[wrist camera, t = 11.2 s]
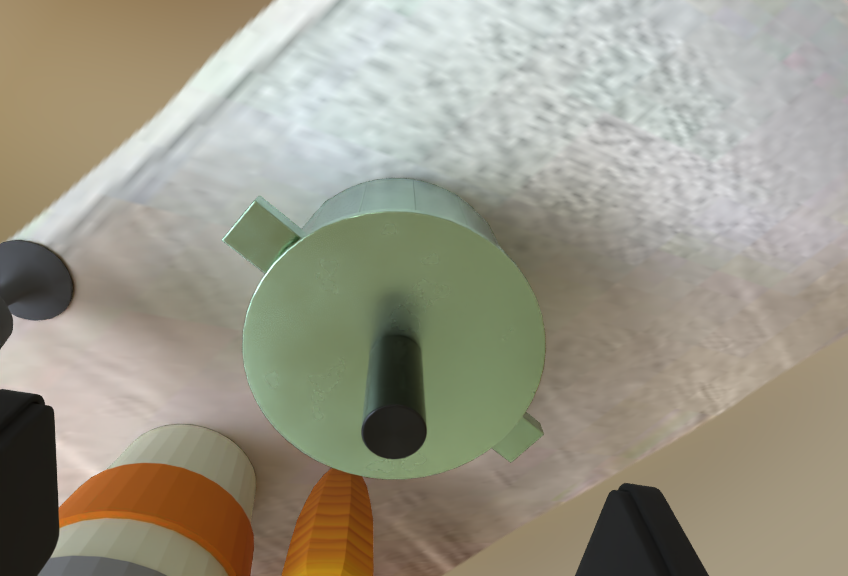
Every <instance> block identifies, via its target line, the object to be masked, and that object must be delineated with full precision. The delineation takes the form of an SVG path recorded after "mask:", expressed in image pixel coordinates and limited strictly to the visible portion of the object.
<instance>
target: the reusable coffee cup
mask: <svg viewBox="0 0 848 576" xmlns="http://www.w3.org/2000/svg"><path fill="white" fill-rule="evenodd" d="M255 491H256V477H255V473H254V469H253V466H252V465H251V463H250V461H249V459H248V457H247V456H246V455H245V453H244V452H243V451H242V450H241V449H240V448H239V447H238V446H237V445H236V444H235V443H234V442H232V441H231V440H230V439H228V438H226V437H225V436H223V435H221V434H220V433H217V432H215V431H212V430H210V429H207V428H203V427H199V426H194V425H182V424H177V425H167V426H162V427H159V428H156V429H152V430H150V431H148V432H146V433H145V434H143V435H141V436H140V437H139V438H137V439H136V440H135V441H134V442H133V443H132V444H131V445H130V446H129V447H128V448H127V449H126V450H125V451H124V452H123V453H122V454H121V455H120V456H119V457H118V458H117V459H116V460H115V461H114V462H113V463H112V464H111V465H110V466H109V467H108V468H107V470H105V471H103V472H101V473H99V474H97V475H95V476H93V477H91V478H90V479H89V480H88V481H86V482H85V483H84V484H83V485H81V486H80V487H79V488H78V489H77V490H76V491H75V492H74V493H73V494H72V495H71V496H70V497H69V498H68V499H67V500H66V501H65V502H64V503H63V504H62V505H61V506H60V507H59V529H60V531H59V538H58V542H57V545H56V548H55V550H54V552H53V554H52V555H51V557H50V559H49V560H48V561H47V563H46V564H45V566H44V567H43V569H42V570H41V571H40V573H39V574H38V576H250V574H251V566H252V559H253V552H254V534H253V531H252V527H251V518H252V511H253V504H254V498H255Z"/></svg>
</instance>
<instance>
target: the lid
mask: <svg viewBox="0 0 848 576" xmlns="http://www.w3.org/2000/svg"><path fill="white" fill-rule="evenodd" d="M242 352H243V362H244V368H245V372H246V376H247V380H248V384H249V386H250V389H251V391H252V393H253V396H254V398H255V400H256V402H257V404H258V405H259V407H260V409H261V411H262V412H263V414H264V415H265V417H266V418H267V419H268V421H269V422H270V423H271V424H272V426H273V427H274V428H275V429H276V430H277V431H278V432H279V433H280V434H281V435H282V436H283V437H284V438H285V439H286V440H287V441H288V442H289V443H291V444H292V445H293V446H295V447H296V448H297V449H298V450H300V451H301V452H303V453H304V454H306V455H308V456H309V457H311V458H313V459H314V460H316V461H318V462H320V463H322V464H324V465H327V466H329V467H331V468H333V469H337V470H340V471H343V472H346V473H349V474H353V475H358V476H362V477H367V478H376V479H412V478H421V477H426V476H430V475H435V474H439V473H442V472H445V471H448V470H451V469H454V468H457V467H459V466H461V465H463V464H466V463H468V462H470V461H472V460H474V459H475V458H477V457H479V456H480V455H482V454H484V453H485V452H487V451H488V450H490V449H491V448H492V447H493V446H495V445H496V444H497V443H499V442H500V441H501V440H502V439H503V438H504V437H505V436H506V435H507V434H508V433H509V432H510V431H511V430H512V429H513V428H514V427H515V426H516V424H517V423H518V422H519V421H520V419H521V418H522V417H523V415H524V414H525V412H526V410H527V409H528V407H529V405H530V404H531V402H532V400H533V398H534V396H535V393H536V391H537V389H538V386H539V384H540V380H541V376H542V372H543V369H544V362H545V353H546V339H545V328H544V323H543V317H542V313H541V310H540V307H539V304H538V302H537V299H536V296H535V294H534V293H533V291H532V289H531V287H530V285H529V283H528V281H527V279H526V277H525V276H524V275H523V273H522V272H521V270H520V269H519V268H518V266H517V265H516V263H515V262H514V261H513V260H512V259H511V258H510V257H509V256H508V255H507V254H506V253H505V252H504V251H503V250H502V249H501V248H500V247H499V246H498V245H496V244H495V243H494V242H493V241H491V240H490V239H489V238H487V237H486V236H485V235H483V234H481V233H480V232H478V231H476V230H474V229H473V228H471V227H469V226H467V225H465V224H463V223H460V222H458V221H456V220H453V219H451V218H448V217H445V216H441V215H437V214H434V213H430V212H425V211H418V210H411V209H379V210H370V211H363V212H359V213H355V214H351V215H347V216H343V217H340V218H338V219H335V220H333V221H330V222H328V223H325V224H323V225H321V226H319V227H317V228H316V229H314V230H312V231H310V232H308V233H307V234H305V235H304V236H302V237H301V238H300V239H298V240H297V241H296V242H294V243H293V244H292V245H290V246H289V247H288V248H287V249H286V250H285V251H284V252H283V253H282V254H281V255H280V256H279V257H278V258H277V259H276V260H275V261H274V263H273V264H272V265H271V267H270V268H269V269H268V271H267V272H266V273H265V275H264V276H263V278H262V279H261V281H260V283H259V285H258V287H257V289H256V291H255V292H254V294H253V296H252V299H251V302H250V305H249V307H248V310H247V313H246V318H245V323H244V328H243V340H242Z"/></svg>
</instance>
